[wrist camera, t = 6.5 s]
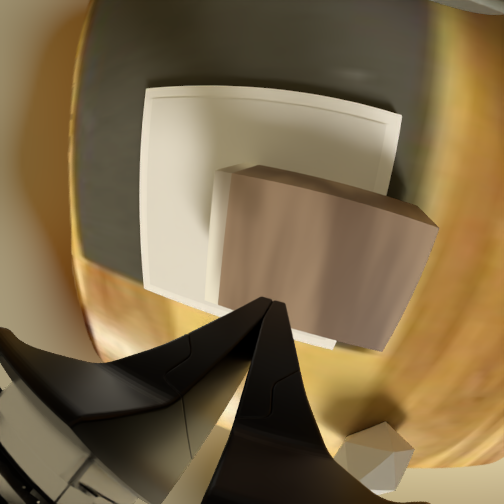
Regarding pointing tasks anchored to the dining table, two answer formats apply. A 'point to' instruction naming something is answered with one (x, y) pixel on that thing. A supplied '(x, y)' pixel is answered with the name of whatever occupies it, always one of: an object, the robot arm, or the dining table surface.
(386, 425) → the die
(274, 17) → the dining table surface
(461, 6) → the cake pan
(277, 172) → the walnut block
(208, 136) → the shallow cream tray
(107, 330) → the dining table surface
